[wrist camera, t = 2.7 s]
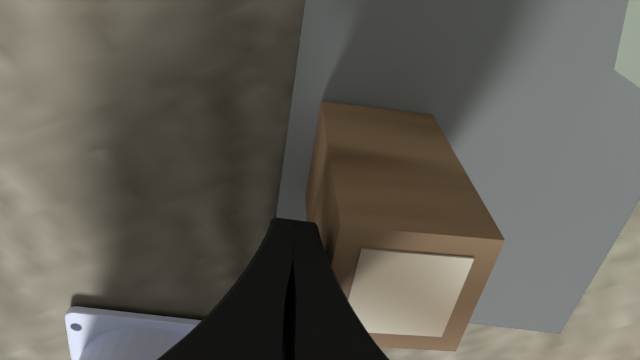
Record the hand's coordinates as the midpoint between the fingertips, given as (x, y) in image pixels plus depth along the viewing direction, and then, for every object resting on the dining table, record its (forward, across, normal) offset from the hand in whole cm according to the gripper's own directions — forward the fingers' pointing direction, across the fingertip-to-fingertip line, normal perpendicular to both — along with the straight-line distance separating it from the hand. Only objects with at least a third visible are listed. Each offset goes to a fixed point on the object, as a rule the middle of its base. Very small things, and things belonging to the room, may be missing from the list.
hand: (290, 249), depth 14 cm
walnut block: (+6, -2, 0) cm, 6 cm away
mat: (+6, -6, 0) cm, 9 cm away
